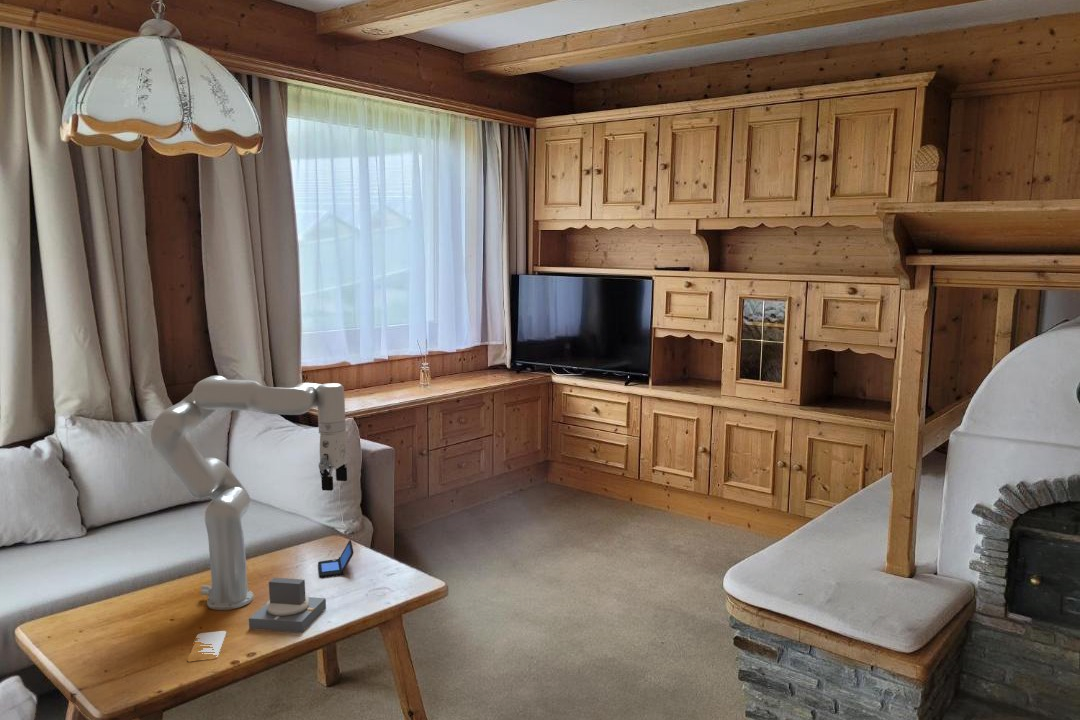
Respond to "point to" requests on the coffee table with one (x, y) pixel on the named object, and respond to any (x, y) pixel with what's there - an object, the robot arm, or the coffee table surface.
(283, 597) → the dial
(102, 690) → the coffee table surface
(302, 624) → the control plate
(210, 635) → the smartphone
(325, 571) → the handheld game console
